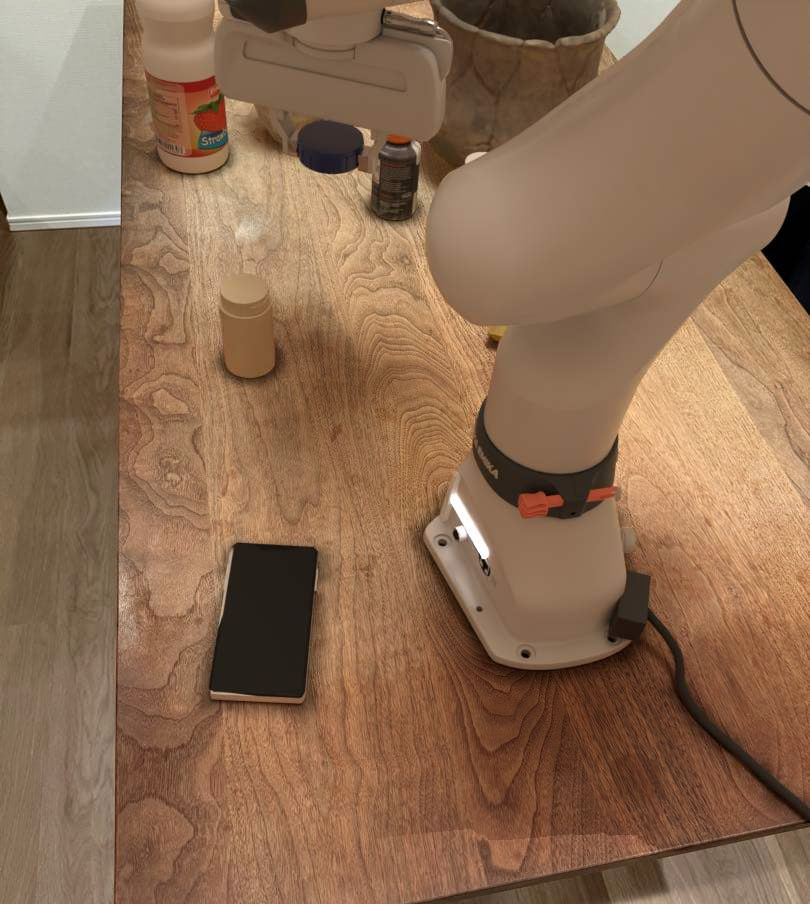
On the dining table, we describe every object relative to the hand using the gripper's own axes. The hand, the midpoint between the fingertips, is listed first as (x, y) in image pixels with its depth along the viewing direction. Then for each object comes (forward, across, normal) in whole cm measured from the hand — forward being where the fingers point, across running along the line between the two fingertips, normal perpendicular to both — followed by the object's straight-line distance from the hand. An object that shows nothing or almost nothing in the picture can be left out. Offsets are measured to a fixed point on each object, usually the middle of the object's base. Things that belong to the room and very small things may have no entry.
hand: (329, 161), depth 81 cm
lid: (-2, 0, 0) cm, 2 cm away
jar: (+21, +7, +7) cm, 23 cm away
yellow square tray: (+21, -21, -9) cm, 31 cm away
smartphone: (+21, -7, +37) cm, 43 cm away
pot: (+21, -10, -43) cm, 49 cm away
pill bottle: (+21, 0, -27) cm, 34 cm away
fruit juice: (+21, +28, -28) cm, 45 cm away
